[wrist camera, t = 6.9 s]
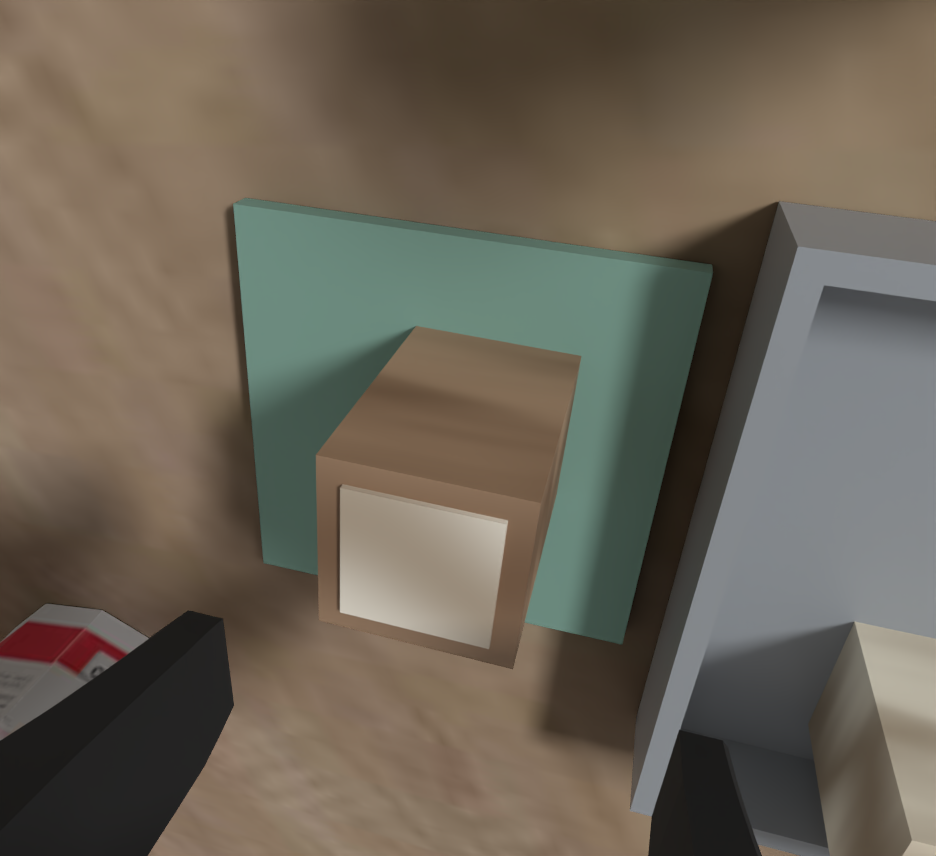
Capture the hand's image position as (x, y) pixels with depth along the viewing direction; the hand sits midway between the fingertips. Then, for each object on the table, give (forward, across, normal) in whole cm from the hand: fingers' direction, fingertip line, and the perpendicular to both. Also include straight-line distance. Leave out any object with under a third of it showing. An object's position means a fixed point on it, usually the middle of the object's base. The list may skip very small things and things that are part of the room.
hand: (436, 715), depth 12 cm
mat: (+9, +2, +1) cm, 10 cm away
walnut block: (+9, +1, 0) cm, 9 cm away
